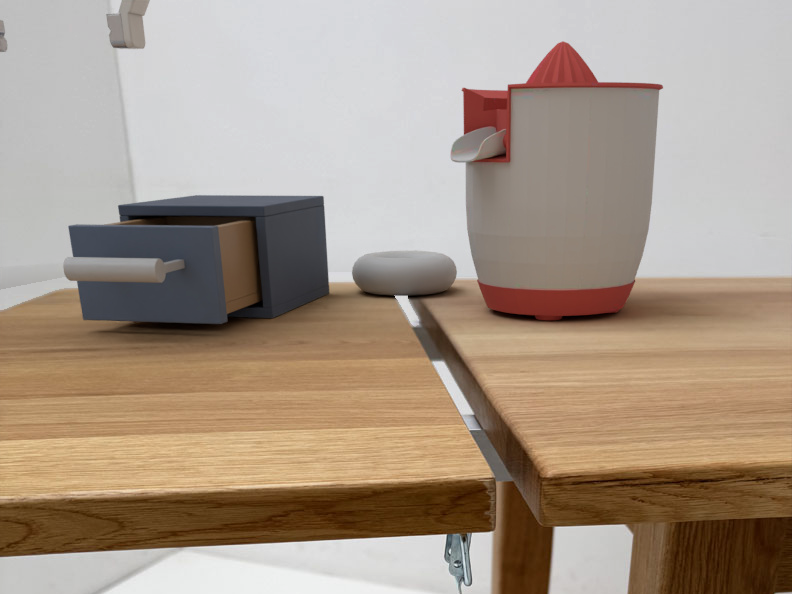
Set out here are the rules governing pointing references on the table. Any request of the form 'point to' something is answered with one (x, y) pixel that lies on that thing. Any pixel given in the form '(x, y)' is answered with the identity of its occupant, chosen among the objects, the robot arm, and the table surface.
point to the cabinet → (265, 242)
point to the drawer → (166, 268)
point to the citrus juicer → (558, 188)
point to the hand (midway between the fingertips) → (58, 50)
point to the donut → (404, 273)
